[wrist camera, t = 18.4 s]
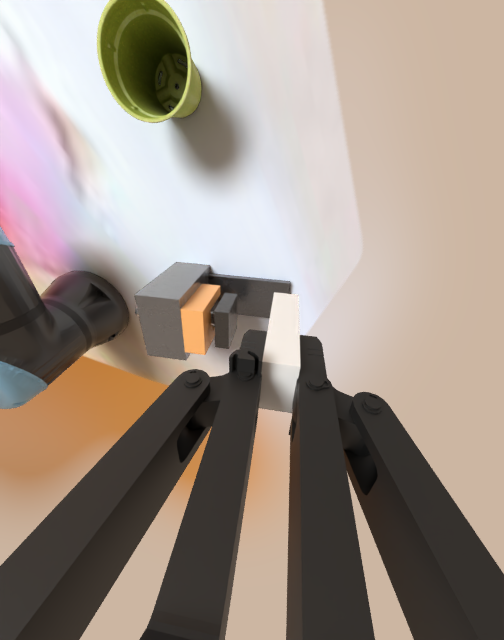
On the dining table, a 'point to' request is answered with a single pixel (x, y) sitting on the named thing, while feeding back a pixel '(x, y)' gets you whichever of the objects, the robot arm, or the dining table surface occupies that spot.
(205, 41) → the dining table surface
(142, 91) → the plant pot
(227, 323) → the shaft
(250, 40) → the dining table surface
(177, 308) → the block
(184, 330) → the block
